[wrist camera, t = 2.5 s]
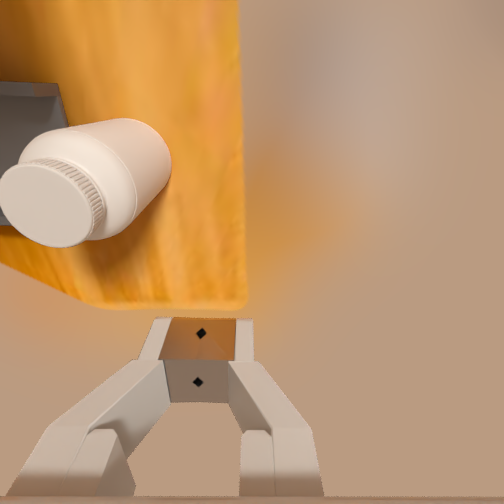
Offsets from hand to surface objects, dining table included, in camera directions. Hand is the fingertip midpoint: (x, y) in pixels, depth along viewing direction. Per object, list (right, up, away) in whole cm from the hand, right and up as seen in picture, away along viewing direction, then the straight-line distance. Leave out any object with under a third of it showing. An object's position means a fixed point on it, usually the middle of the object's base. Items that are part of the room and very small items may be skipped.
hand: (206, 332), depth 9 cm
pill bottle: (-11, +13, +21) cm, 26 cm away
